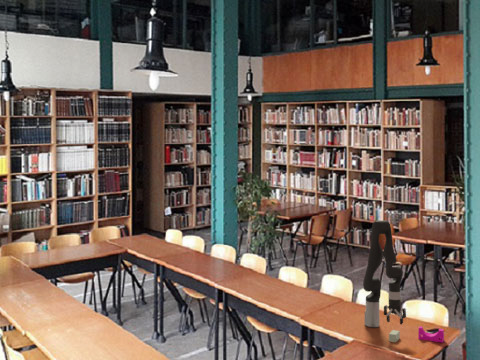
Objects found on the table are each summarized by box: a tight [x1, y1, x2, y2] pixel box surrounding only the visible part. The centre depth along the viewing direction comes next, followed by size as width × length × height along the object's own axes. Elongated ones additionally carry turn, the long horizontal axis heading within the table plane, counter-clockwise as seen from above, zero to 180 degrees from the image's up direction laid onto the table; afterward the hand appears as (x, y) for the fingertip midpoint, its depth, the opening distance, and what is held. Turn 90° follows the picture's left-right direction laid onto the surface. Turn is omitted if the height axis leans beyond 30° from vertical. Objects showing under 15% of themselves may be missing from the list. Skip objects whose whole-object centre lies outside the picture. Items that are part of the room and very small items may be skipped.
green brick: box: [388, 329, 401, 343], centre depth 352 cm, size 4×9×5 cm, turn 149°
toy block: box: [418, 326, 445, 343], centre depth 353 cm, size 15×6×8 cm, turn 63°
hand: (394, 323), depth 351 cm, fingers open, 8 cm apart
